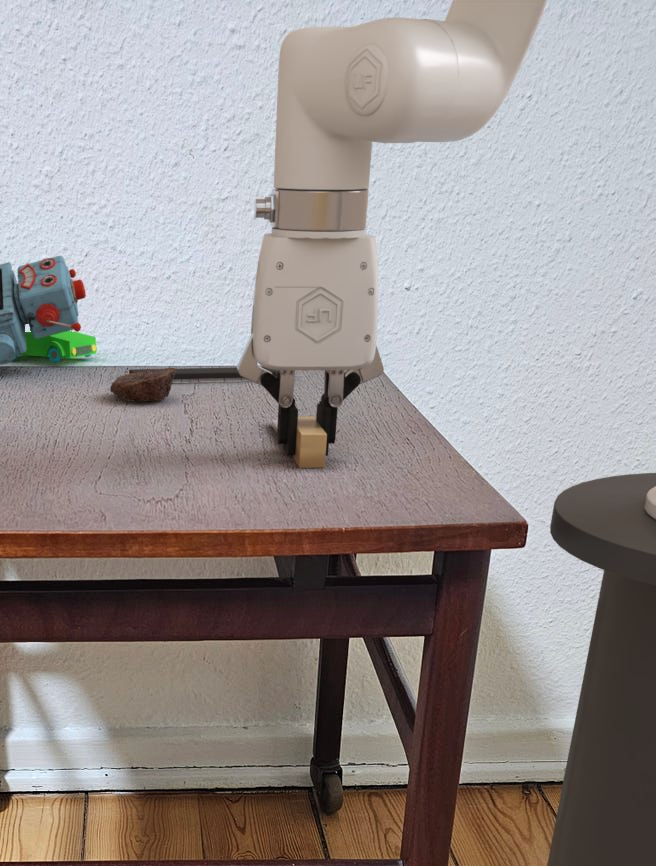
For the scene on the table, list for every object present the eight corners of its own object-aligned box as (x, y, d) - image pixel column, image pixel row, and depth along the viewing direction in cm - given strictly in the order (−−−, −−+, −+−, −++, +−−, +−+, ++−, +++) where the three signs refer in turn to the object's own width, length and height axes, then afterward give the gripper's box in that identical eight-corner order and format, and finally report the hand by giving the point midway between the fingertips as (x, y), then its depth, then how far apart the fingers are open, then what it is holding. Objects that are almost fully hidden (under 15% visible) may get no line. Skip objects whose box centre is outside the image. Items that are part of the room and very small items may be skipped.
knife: (327, 468, 101) (329, 434, 100) (296, 468, 101) (298, 434, 100) (297, 424, 116) (299, 394, 114) (271, 425, 116) (272, 394, 114)
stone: (162, 407, 123) (162, 375, 121) (98, 403, 125) (96, 371, 123) (183, 396, 128) (183, 365, 127) (121, 393, 130) (120, 362, 129)
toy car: (-3, 358, 149) (-8, 300, 146) (30, 352, 154) (27, 296, 151) (68, 364, 144) (65, 304, 141) (100, 357, 149) (98, 299, 146)
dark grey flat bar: (284, 383, 137) (273, 378, 142) (284, 371, 137) (274, 366, 141) (135, 386, 135) (129, 381, 139) (134, 374, 134) (128, 369, 138)
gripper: (223, 218, 91) (218, 463, 101) (429, 218, 92) (404, 462, 102) (215, 212, 97) (211, 443, 107) (407, 212, 98) (386, 442, 108)
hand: (305, 450), depth 104 cm, fingers closed on knife, 2 cm apart
